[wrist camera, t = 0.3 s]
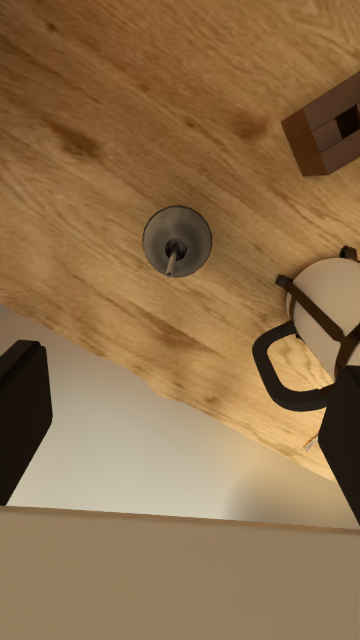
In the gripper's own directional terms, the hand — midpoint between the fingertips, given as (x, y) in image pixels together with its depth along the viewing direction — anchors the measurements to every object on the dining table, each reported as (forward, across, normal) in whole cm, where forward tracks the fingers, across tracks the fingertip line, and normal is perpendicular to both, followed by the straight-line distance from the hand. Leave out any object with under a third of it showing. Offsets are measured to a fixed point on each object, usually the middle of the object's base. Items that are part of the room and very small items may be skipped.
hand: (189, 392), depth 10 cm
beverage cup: (+37, +1, 0) cm, 37 cm away
